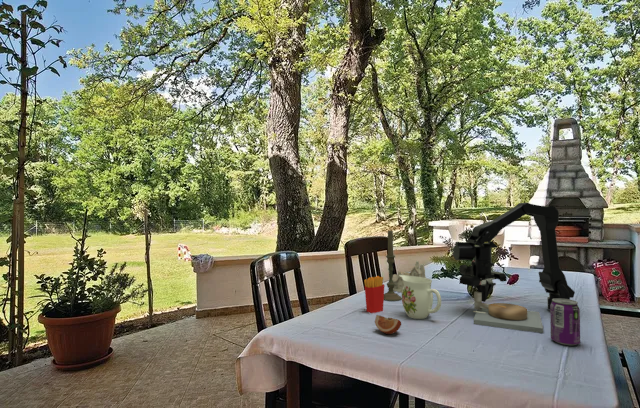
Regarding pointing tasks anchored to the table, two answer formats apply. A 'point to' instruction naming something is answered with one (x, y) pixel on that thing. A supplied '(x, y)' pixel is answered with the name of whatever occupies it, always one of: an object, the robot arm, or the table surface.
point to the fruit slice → (387, 324)
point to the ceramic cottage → (414, 272)
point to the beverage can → (565, 321)
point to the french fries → (374, 294)
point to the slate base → (510, 321)
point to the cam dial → (501, 309)
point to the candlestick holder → (390, 259)
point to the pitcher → (418, 297)
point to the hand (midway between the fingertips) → (483, 301)
